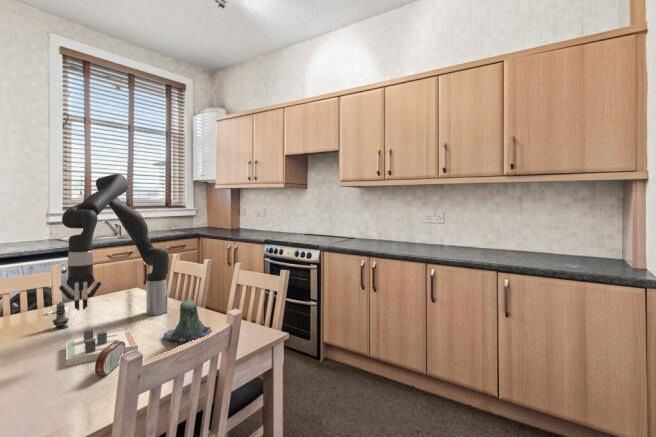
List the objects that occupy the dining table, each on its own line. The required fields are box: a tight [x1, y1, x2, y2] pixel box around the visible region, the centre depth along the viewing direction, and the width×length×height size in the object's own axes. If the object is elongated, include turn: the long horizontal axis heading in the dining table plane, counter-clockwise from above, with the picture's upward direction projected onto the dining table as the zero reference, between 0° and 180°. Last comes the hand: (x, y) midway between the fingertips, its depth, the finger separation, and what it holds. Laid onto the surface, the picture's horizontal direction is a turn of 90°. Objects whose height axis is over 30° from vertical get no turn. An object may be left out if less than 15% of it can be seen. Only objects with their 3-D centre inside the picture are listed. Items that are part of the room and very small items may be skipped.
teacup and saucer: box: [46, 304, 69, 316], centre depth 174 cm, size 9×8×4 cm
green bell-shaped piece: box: [163, 299, 213, 345], centre depth 147 cm, size 19×21×19 cm
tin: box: [94, 341, 126, 376], centre depth 119 cm, size 15×3×8 cm, turn 5°
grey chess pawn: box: [52, 301, 70, 331], centre depth 154 cm, size 6×6×12 cm
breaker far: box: [83, 327, 94, 342], centre depth 136 cm, size 3×2×4 cm
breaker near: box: [85, 338, 95, 353], centre depth 126 cm, size 3×2×4 cm
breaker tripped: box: [96, 330, 108, 345], centre depth 133 cm, size 3×2×4 cm
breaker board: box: [65, 329, 139, 367], centre depth 133 cm, size 22×18×3 cm
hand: (81, 309), depth 129 cm, fingers closed
